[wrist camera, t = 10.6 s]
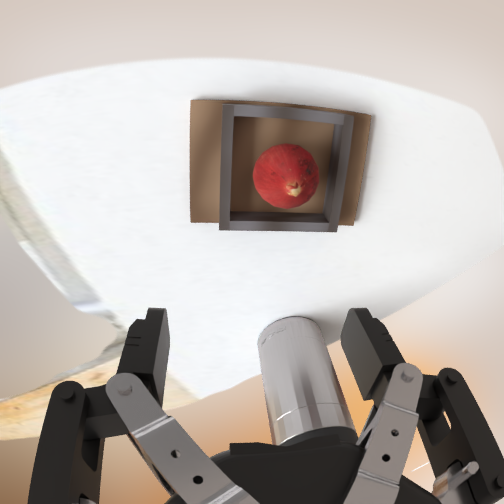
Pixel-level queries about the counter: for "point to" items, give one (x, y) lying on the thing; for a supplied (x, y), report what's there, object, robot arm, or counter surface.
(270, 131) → the pocket board
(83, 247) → the counter surface
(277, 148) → the onion
